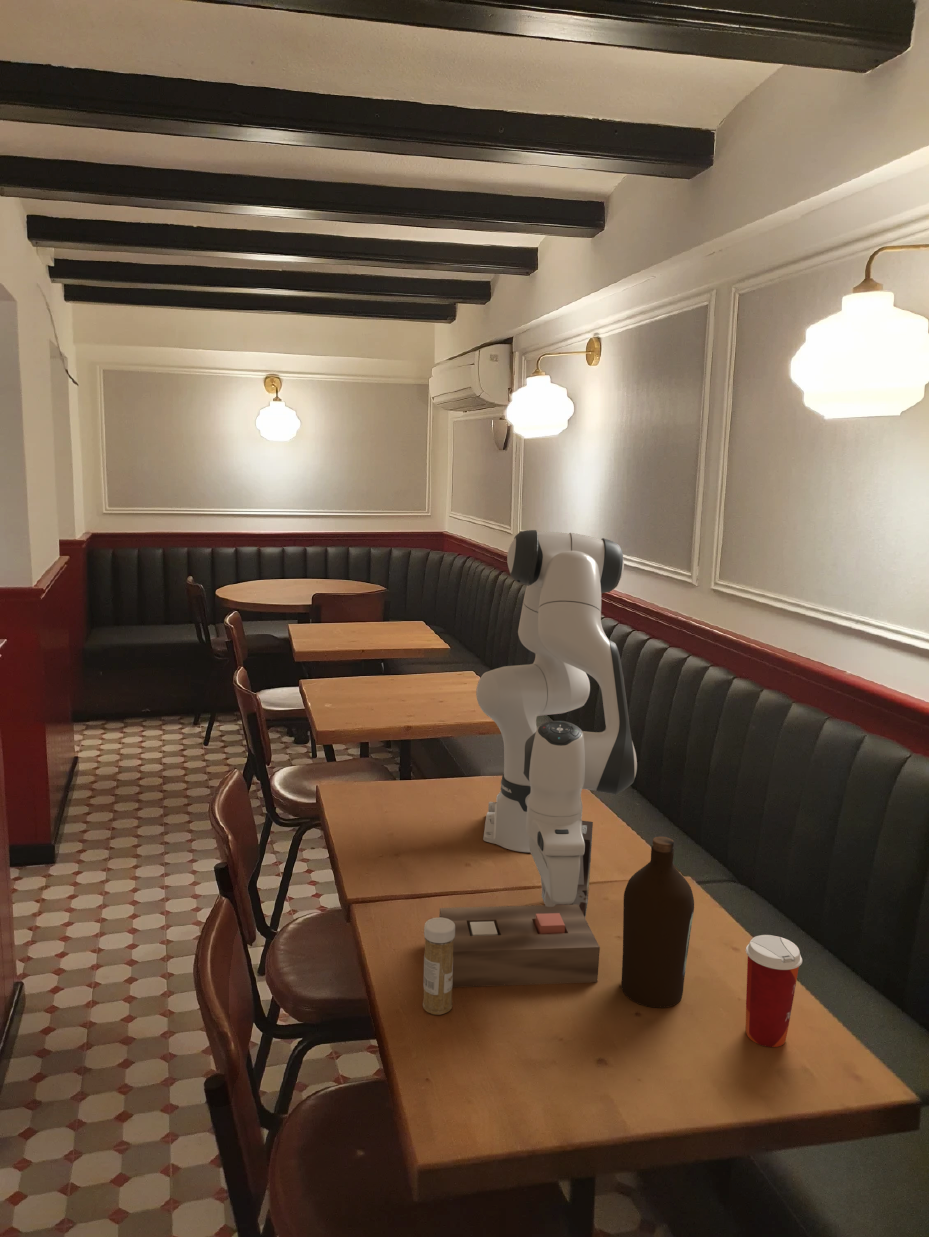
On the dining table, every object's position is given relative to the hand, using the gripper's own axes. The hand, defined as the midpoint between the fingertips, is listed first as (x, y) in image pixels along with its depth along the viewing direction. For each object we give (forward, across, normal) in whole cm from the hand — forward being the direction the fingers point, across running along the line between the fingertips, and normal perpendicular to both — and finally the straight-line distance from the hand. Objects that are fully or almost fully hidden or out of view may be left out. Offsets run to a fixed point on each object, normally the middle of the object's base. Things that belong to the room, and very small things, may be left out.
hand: (548, 902), depth 149 cm
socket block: (+10, +1, -5) cm, 11 cm away
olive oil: (+10, +10, +15) cm, 21 cm away
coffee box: (+10, -15, +8) cm, 20 cm away
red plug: (+9, +1, 0) cm, 9 cm away
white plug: (+10, +1, -11) cm, 14 cm away
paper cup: (+10, +22, +28) cm, 37 cm away
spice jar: (+10, +13, -19) cm, 25 cm away
